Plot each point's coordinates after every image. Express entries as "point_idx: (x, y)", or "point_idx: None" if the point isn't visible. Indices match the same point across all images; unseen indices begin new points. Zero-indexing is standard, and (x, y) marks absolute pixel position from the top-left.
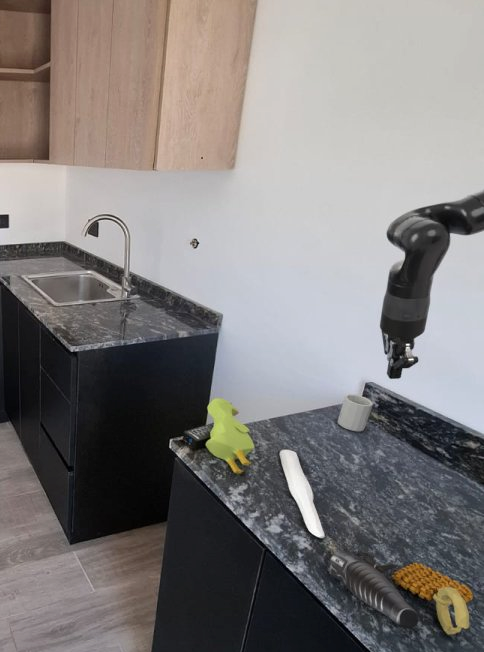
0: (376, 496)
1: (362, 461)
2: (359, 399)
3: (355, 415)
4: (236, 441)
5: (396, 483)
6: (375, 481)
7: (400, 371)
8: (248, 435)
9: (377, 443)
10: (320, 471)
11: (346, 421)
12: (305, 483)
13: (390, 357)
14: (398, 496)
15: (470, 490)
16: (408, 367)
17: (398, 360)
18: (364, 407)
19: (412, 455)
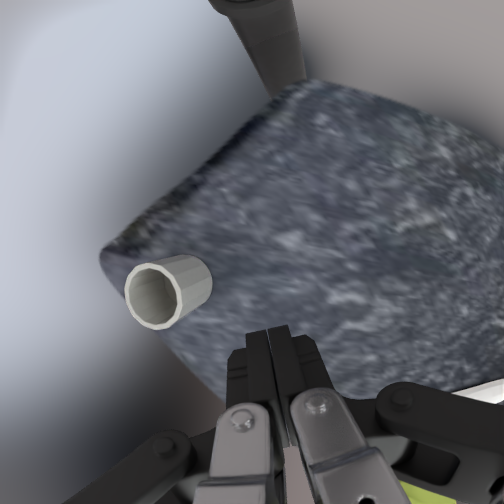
0: (466, 279)
1: (351, 285)
2: (134, 285)
3: (196, 295)
4: (443, 499)
5: (409, 231)
6: (420, 272)
7: (325, 371)
8: (414, 492)
9: (246, 237)
10: (423, 367)
11: (201, 303)
12: (486, 395)
13: (285, 487)
14: (451, 238)
15: (354, 93)
16: (436, 397)
17: (462, 499)
18: (183, 287)
19: (263, 170)
